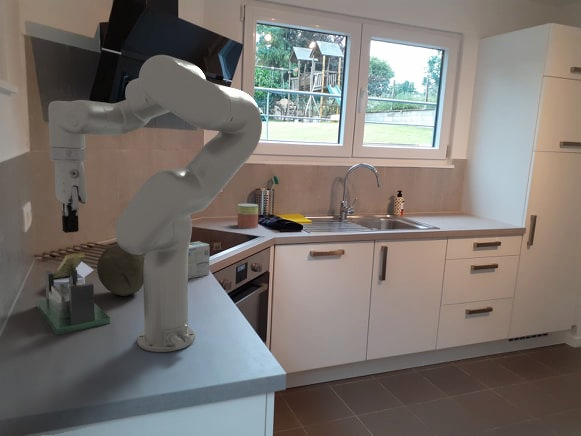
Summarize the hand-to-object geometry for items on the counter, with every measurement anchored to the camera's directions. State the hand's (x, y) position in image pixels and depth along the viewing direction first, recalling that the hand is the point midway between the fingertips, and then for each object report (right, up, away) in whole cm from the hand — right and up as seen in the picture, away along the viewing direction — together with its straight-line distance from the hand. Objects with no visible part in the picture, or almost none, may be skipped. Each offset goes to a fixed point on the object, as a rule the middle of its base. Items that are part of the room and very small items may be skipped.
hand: (70, 231), depth 108 cm
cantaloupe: (+4, -19, +23) cm, 30 cm away
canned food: (+30, -2, +136) cm, 139 cm away
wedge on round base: (-14, -18, +28) cm, 36 cm away
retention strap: (-3, -10, +6) cm, 12 cm away
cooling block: (-3, -22, +7) cm, 23 cm away
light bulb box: (+20, -16, +44) cm, 51 cm away
